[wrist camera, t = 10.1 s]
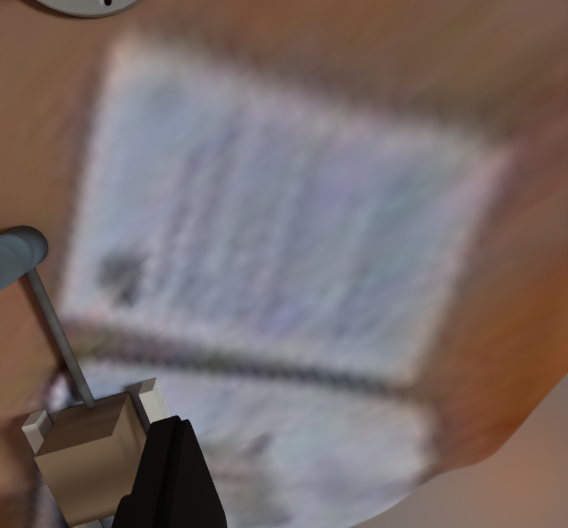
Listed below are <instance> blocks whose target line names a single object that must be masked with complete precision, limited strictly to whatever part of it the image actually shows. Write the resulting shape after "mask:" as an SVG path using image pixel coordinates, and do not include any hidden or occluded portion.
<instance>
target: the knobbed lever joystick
mask: <svg viewBox="0 0 568 528" xmlns="http://www.w3.org/2000/svg"><path fill="white" fill-rule="evenodd" d="M47 254H48V243H47V240H46V238H45V237H44V235H43V234H42V233H41V232H40V231H38V230H37V229H35V228H33V227H30V226H18V227H15V228H13V229H11V230H9V231H7V232H4V233H2V234H0V290H2V289H4V288H5V287H7V286H8V285H10V284H11V283H12V282H14V281H15V280H17V279H18V278H19V277H21V276H22V275H24V274H26V277H27V279H28V281H29V283H30V285H31V288H32V290H33V292H34V294H35V296H36V299H37V301H38V303H39V305H40V307H41V310H42V312H43V314H44V316H45V318H46V321H47V323H48V325H49V327H50V329H51V332H52V334H53V336H54V338H55V340H56V343H57V345H58V347H59V349H60V351H61V353H62V356H63V358H64V360H65V362H66V364H67V367H68V369H69V371H70V373H71V375H72V378H73V380H74V382H75V384H76V386H77V389H78V391H79V393H80V395H81V397H82V400H83V402H84V404H83V405H80V406H76V407H73V408H69V409H66V410H62V412H61V413H60V415H59V417H58V418H57V420H56V422H55V423H54V425H53V427H52V428H51V430H50V431H49V433H48V435H47V436H46V438H45V440H44V441H43V443H42V445H41V446H40V448H39V450H38V451H37V453H36V455H35V456H34V459H35V461H36V463H37V465H38V467H39V469H40V471H41V473H42V475H43V477H44V479H45V481H46V483H47V484H48V486H49V488H50V490H51V492H52V494H53V496H54V498H55V500H56V502H57V504H58V506H59V508H60V510H61V511H62V513H63V515H64V517H65V519H66V521H67V523H68V525H69V527H70V528H71V527H75V526H78V525H82V524H85V523H89V522H92V521H96V520H99V519H103V518H106V517H110V516H113V515H115V514H116V510H117V507H118V504H119V502H120V500H121V498H122V497H123V496H125V495H128V494H131V491H132V488H133V484H134V481H135V477H136V474H137V470H138V466H139V463H140V459H141V456H142V452H143V449H144V445H145V442H146V438H147V433H146V431H145V429H144V426H143V424H142V421H141V419H140V417H139V414H138V412H137V409H136V407H135V405H134V402H133V400H132V397H131V395H130V393H129V392H126V393H123V394H119V395H116V396H112V397H109V398H105V399H101V400H98V401H95V400H94V398H93V396H92V394H91V391H90V389H89V387H88V385H87V382H86V380H85V378H84V376H83V374H82V371H81V369H80V367H79V365H78V362H77V360H76V358H75V356H74V353H73V351H72V349H71V347H70V344H69V342H68V340H67V338H66V335H65V333H64V331H63V329H62V326H61V324H60V322H59V320H58V318H57V315H56V313H55V311H54V309H53V306H52V304H51V302H50V300H49V297H48V295H47V293H46V291H45V288H44V286H43V284H42V282H41V279H40V277H39V275H38V273H37V270H36V268H35V266H36V265H38V264H39V263H41V262H42V261H43V260H44V259H45V258H46V256H47Z"/></svg>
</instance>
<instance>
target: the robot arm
mask: <svg viewBox="0 0 568 528" xmlns="http://www.w3.org/2000/svg"><path fill="white" fill-rule="evenodd" d="M36 1H38V2H40V3H41V4H43V5H45V6H47V7H49V8H52V9H54V10H56V11H59V12H61V13H64V14H68V15H73V16H78V17H90V18H101V17H105V16H110V15H115V14H119V13H121V12H123V11H125V10H128V9H130V8H132V7H134V6H135V5H137V4H138V3H139V2H141V1H142V0H112V3H111V5H110V6H107V5H106V4H105V1H106V0H36ZM111 528H227V521H226V516H225V513H224V510H223V507H222V504H221V502H220V499H219V497H218V494H217V491H216V489H215V486H214V483H213V481H212V478H211V475H210V473H209V470H208V467H207V465H206V462H205V459H204V457H203V454H202V451H201V449H200V446H199V443H198V441H197V438H196V436H195V433H194V430H193V428H192V425H191V423H190V421H189V420H188V419H186V420H183V421H181V419H180V417H179V416H177V415H176V416H172V417H168V418H165V419H161V420H158V421H154V422H152V423H151V425H150V427H149V431H148V434H147V438H146V442H145V445H144V449H143V452H142V456H141V459H140V463H139V466H138V470H137V474H136V477H135V481H134V484H133V488H132V491H131V494H128V495H125V496H123V497H122V498H121V500H120V502H119V504H118V507H117V510H116V514H115V517H114V520H113V524H112V527H111Z"/></svg>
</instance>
